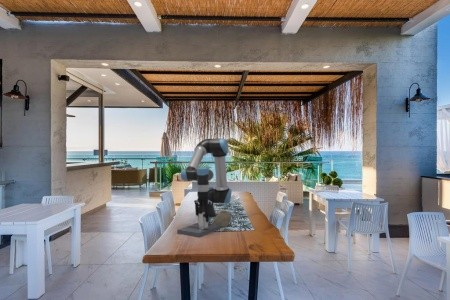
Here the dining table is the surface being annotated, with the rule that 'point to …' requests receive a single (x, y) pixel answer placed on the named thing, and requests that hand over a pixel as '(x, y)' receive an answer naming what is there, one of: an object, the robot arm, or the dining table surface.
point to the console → (198, 230)
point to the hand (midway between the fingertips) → (203, 226)
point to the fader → (201, 221)
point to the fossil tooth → (222, 219)
